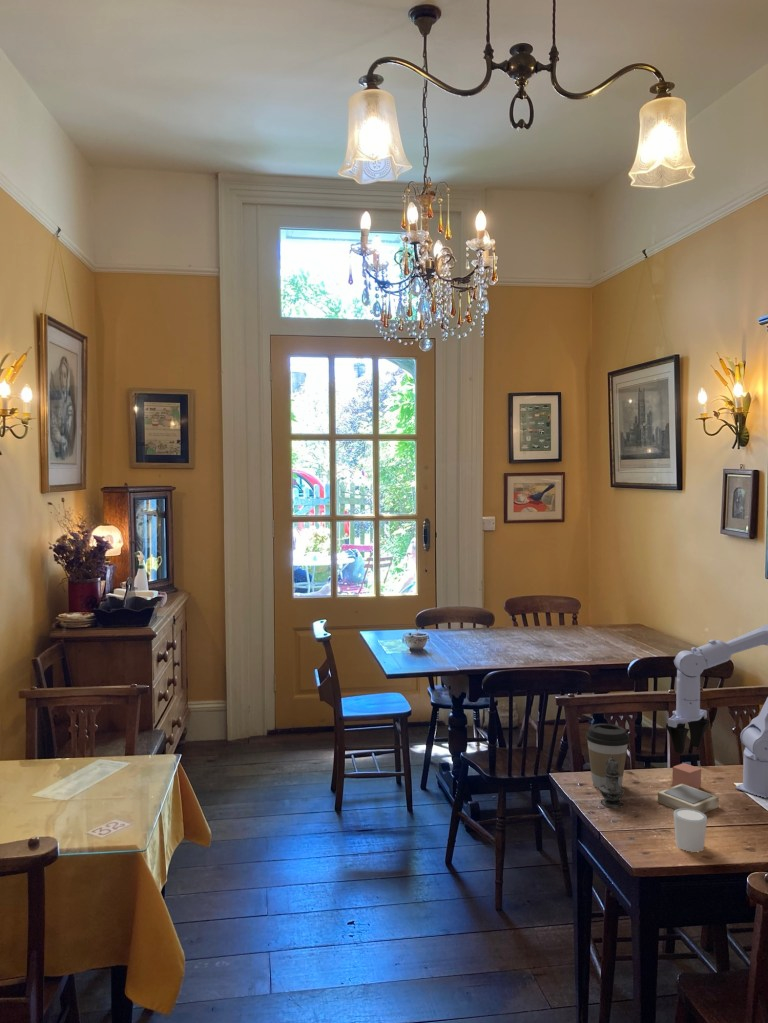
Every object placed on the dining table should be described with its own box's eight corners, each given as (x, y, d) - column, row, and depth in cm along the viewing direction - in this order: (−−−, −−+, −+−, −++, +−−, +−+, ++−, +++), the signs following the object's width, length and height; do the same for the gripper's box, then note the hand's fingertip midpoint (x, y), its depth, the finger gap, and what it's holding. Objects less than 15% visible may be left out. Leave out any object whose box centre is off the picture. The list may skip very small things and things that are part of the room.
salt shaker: (625, 809, 180) (626, 760, 180) (600, 807, 182) (600, 758, 181) (622, 799, 186) (623, 752, 186) (598, 797, 187) (598, 750, 187)
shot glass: (703, 857, 157) (704, 824, 157) (669, 848, 161) (670, 816, 160) (709, 844, 163) (709, 812, 163) (676, 836, 167) (676, 805, 166)
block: (683, 781, 198) (684, 763, 198) (700, 787, 194) (701, 768, 194) (672, 785, 195) (672, 766, 195) (689, 792, 191) (689, 772, 191)
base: (681, 793, 190) (682, 782, 190) (718, 807, 182) (718, 796, 182) (657, 802, 185) (657, 791, 184) (694, 817, 176) (694, 805, 176)
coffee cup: (632, 781, 198) (632, 725, 197) (626, 797, 187) (627, 738, 187) (588, 774, 203) (588, 719, 202) (580, 789, 192) (581, 732, 192)
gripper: (690, 690, 201) (689, 739, 201) (657, 698, 193) (657, 750, 193) (714, 696, 195) (713, 747, 196) (682, 705, 187) (681, 758, 187)
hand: (687, 749), depth 194 cm, fingers open, 7 cm apart
